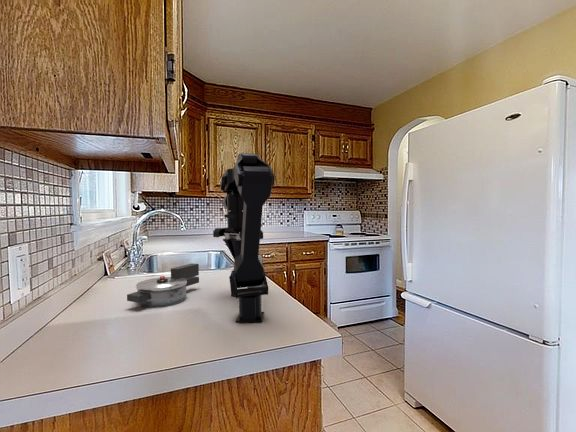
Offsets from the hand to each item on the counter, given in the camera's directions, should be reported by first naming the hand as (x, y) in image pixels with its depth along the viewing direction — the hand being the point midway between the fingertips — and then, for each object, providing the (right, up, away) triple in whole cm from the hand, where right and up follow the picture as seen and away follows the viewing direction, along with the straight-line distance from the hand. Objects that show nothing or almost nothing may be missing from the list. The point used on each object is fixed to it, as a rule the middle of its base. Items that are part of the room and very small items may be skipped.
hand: (237, 261), depth 94 cm
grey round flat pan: (-23, -12, +3) cm, 26 cm away
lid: (-22, -7, +5) cm, 24 cm away
